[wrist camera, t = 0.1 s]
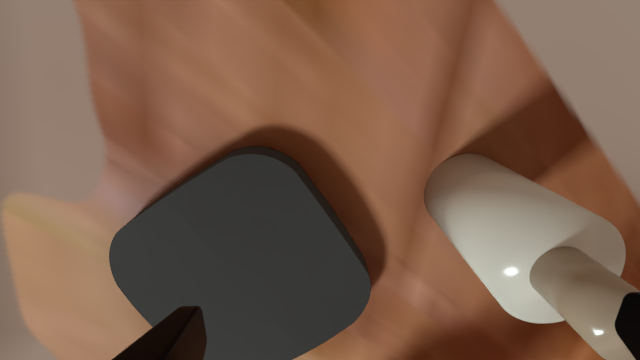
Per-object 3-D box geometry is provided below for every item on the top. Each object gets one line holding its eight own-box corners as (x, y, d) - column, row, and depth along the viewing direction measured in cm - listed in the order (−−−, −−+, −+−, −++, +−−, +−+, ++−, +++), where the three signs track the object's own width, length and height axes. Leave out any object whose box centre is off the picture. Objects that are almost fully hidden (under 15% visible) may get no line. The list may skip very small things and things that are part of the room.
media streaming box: (272, 121, 20) (266, 130, 18) (385, 282, 25) (394, 310, 22) (103, 234, 23) (74, 258, 20) (232, 364, 27) (223, 398, 24)
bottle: (497, 226, 23) (686, 392, 11) (420, 228, 23) (532, 397, 11) (510, 152, 21) (751, 257, 9) (427, 154, 21) (567, 263, 9)
